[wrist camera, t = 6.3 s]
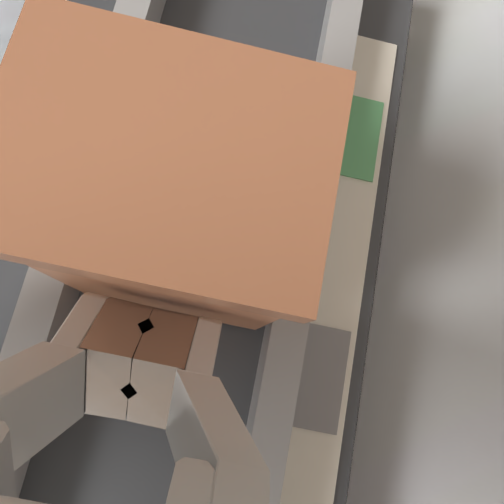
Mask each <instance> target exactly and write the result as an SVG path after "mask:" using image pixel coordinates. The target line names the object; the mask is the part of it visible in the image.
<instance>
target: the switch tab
mask: <svg viewBox="0 0 504 504" xmlns="http://www.w3.org/2000/svg"><path fill="white" fill-rule="evenodd" d="M356 73H357V71H353V70H349V69H344V68H340V67H336V66H332V65H328V64H324V63H320V62H316V61H312V60H308V59H304V58H300V57H295V56H291V55H287V54H283V53H279V52H275V51H271V50H267V49H263V48H259V47H255V46H251V45H246V44H242V43H238V42H234V41H230V40H226V39H222V38H218V37H214V36H210V35H206V34H202V33H197V32H193V31H189V30H185V29H181V28H177V27H173V26H169V25H165V24H161V23H157V22H153V21H149V20H144V19H140V18H136V17H132V16H128V15H124V14H120V13H116V12H112V11H108V10H104V9H100V8H95V7H91V6H87V5H83V4H79V3H75V2H71V1H67V0H25V3H24V5H23V8H22V11H21V13H20V16H19V18H18V21H17V23H16V26H15V28H14V31H13V34H12V36H11V39H10V41H9V44H8V46H7V49H6V52H5V54H4V57H3V59H2V62H1V64H0V260H5V261H10V262H15V263H19V264H24V265H27V266H29V267H31V268H33V269H35V270H38V271H40V272H42V273H44V274H46V275H48V276H50V277H52V278H54V279H56V280H58V281H60V282H62V283H64V284H66V285H68V286H70V287H72V288H75V289H77V290H79V291H81V292H83V293H86V292H90V293H95V294H99V295H103V296H107V297H113V298H117V299H122V300H126V301H130V302H134V303H138V304H143V305H147V306H151V307H154V308H160V309H165V310H170V311H175V312H179V313H184V314H189V315H194V316H199V317H200V316H201V317H206V318H212V319H217V320H221V321H222V323H224V324H229V325H234V326H238V327H243V328H248V329H253V330H256V329H258V328H261V327H263V326H265V325H267V324H269V323H272V322H274V321H276V320H278V319H284V320H288V321H293V322H298V323H303V324H305V323H308V322H311V321H315V320H316V319H317V313H318V307H319V300H320V294H321V288H322V282H323V276H324V270H325V264H326V257H327V251H328V245H329V239H330V233H331V227H332V221H333V214H334V208H335V202H336V196H337V190H338V184H339V178H340V171H341V165H342V159H343V153H344V147H345V141H346V135H347V129H348V122H349V116H350V110H351V104H352V98H353V92H354V86H355V79H356Z"/></svg>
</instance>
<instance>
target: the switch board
mask: <svg viewBox="0 0 504 504" xmlns="http://www.w3.org/2000/svg"><path fill="white" fill-rule="evenodd" d="M67 1H71V2H75V3H79V4H83V5H87V6H91V7H95V8H100V9H104V10H108V11H112V12H116V13H120V14H124V15H128V16H132V17H136V18H140V19H144V20H149V21H153V22H157V23H161V24H165V25H169V26H173V27H177V28H181V29H185V30H189V31H193V32H197V33H202V34H206V35H210V36H214V37H218V38H222V39H226V40H230V41H234V42H238V43H242V44H246V45H251V46H255V47H259V48H263V49H267V50H271V51H275V52H279V53H283V54H287V55H291V56H295V57H300V58H304V59H308V60H312V61H316V62H320V63H324V64H328V65H332V66H336V67H340V68H344V69H349V70H353V71H357V73H356V79H355V86H354V92H353V98H352V104H351V110H350V116H349V122H348V129H347V135H346V141H345V147H344V153H343V159H342V165H341V171H340V178H339V184H338V190H337V196H336V202H335V208H334V214H333V221H332V227H331V233H330V239H329V245H328V251H327V257H326V264H325V270H324V276H323V282H322V288H321V294H320V300H319V307H318V313H317V319H316V320H315V321H311V322H308V323H305V324H303V323H298V322H293V321H288V320H284V319H278V320H276V321H274V322H272V323H269V324H267V325H265V326H263V327H261V328H258V329H256V330H253V329H248V328H243V327H238V326H234V325H229V324H224V323H222V327H221V332H220V338H219V343H218V348H217V353H216V359H215V364H214V369H213V374H212V376H214V377H219V378H220V380H221V382H222V384H223V386H224V388H225V389H226V391H227V393H228V395H229V397H230V399H231V400H232V402H233V404H234V406H235V408H236V410H237V412H238V413H239V415H240V417H241V419H242V421H243V423H244V424H245V426H246V428H247V430H248V432H249V434H250V435H251V437H252V439H253V441H254V443H255V445H256V446H257V448H258V450H259V452H260V454H261V456H262V457H263V459H264V461H265V463H266V465H267V467H268V468H269V470H270V497H269V504H346V501H347V493H348V486H349V478H350V471H351V463H352V456H353V448H354V440H355V433H356V425H357V418H358V410H359V403H360V395H361V388H362V380H363V373H364V365H365V358H366V350H367V343H368V335H369V328H370V320H371V313H372V305H373V298H374V290H375V283H376V275H377V268H378V260H379V253H380V245H381V238H382V230H383V223H384V215H385V208H386V200H387V193H388V185H389V178H390V170H391V163H392V155H393V148H394V140H395V133H396V125H397V118H398V110H399V103H400V95H401V88H402V80H403V73H404V65H405V58H406V50H407V43H408V35H409V28H410V20H411V13H412V5H413V0H67ZM83 294H84V293H83V292H81V291H79V290H77V289H75V288H72V287H70V286H68V285H66V284H64V283H62V282H60V281H58V280H56V279H54V278H52V277H50V276H48V275H46V274H44V273H42V272H40V271H38V270H35V269H33V268H31V267H29V266H27V265H24V264H19V263H15V262H10V261H5V260H0V361H2V360H4V359H6V358H8V357H10V356H12V355H15V354H17V353H19V352H21V351H23V350H25V349H27V348H29V347H31V346H33V345H35V344H38V343H40V342H42V341H45V342H51V340H52V339H53V337H54V336H55V334H56V333H57V331H58V330H59V328H60V327H61V325H62V324H63V322H64V321H65V319H66V318H67V316H68V315H69V313H70V312H71V310H72V309H73V307H74V306H75V304H76V303H77V301H78V300H79V298H80V297H81V295H83ZM126 419H127V417H126ZM174 468H175V461H174V457H173V454H172V451H171V448H170V445H169V441H168V438H167V435H166V430H165V429H161V428H156V427H152V426H147V425H143V424H139V423H134V422H130V421H126V420H120V419H114V418H108V417H102V416H96V415H90V414H84V416H83V417H82V418H81V419H79V420H78V421H77V422H76V423H74V424H73V425H72V426H71V427H69V428H68V429H67V430H65V431H64V432H63V433H62V434H60V435H59V436H58V437H57V438H55V439H54V440H53V441H52V442H50V443H49V444H48V445H47V446H45V447H44V448H43V449H42V450H40V451H39V452H38V453H37V454H35V455H34V456H33V457H32V458H30V459H29V460H28V461H26V462H25V463H24V464H23V465H21V466H20V467H19V468H18V469H16V470H15V471H14V476H15V485H16V494H17V498H20V499H26V500H31V501H36V502H42V503H47V504H166V500H167V496H168V492H169V488H170V484H171V480H172V476H173V472H174Z"/></svg>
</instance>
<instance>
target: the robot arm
mask: <svg viewBox="0 0 504 504" xmlns="http://www.w3.org/2000/svg"><path fill="white" fill-rule="evenodd" d="M221 327H222V321H221V320H217V319H212V318H206V317H201V316H200V317H199V316H194V315H189V314H184V313H179V312H175V311H170V310H165V309H160V308H154V307H151V306H147V305H143V304H138V303H134V302H130V301H126V300H122V299H117V298H113V297H107V296H103V295H99V294H95V293H90V292H86V293H84V294H83V295H81V297H80V298H79V300H78V301H77V303H76V304H75V306H74V307H73V309H72V310H71V312H70V313H69V315H68V316H67V318H66V319H65V321H64V322H63V324H62V325H61V327H60V328H59V330H58V331H57V333H56V334H55V336H54V337H53V339H52V340H51V342H45V341H42V342H40V343H38V344H35V345H33V346H31V347H29V348H27V349H25V350H23V351H21V352H19V353H17V354H15V355H12V356H10V357H8V358H6V359H4V360H2V361H0V504H47V503H42V502H36V501H31V500H26V499H20V498H17V494H16V485H15V476H14V471H15V470H16V469H18V468H19V467H20V466H21V465H23V464H24V463H25V462H26V461H28V460H29V459H30V458H32V457H33V456H34V455H35V454H37V453H38V452H39V451H40V450H42V449H43V448H44V447H45V446H47V445H48V444H49V443H50V442H52V441H53V440H54V439H55V438H57V437H58V436H59V435H60V434H62V433H63V432H64V431H65V430H67V429H68V428H69V427H71V426H72V425H73V424H74V423H76V422H77V421H78V420H79V419H81V418H82V417H83V416H84V414H90V415H96V416H102V417H108V418H114V419H120V420H126V421H130V422H134V423H139V424H143V425H147V426H152V427H156V428H161V429H165V430H166V435H167V438H168V441H169V445H170V448H171V451H172V454H173V457H174V461H175V468H174V472H173V476H172V480H171V484H170V488H169V492H168V496H167V500H166V504H269V497H270V470H269V468H268V467H267V465H266V463H265V461H264V459H263V457H262V456H261V454H260V452H259V450H258V448H257V446H256V445H255V443H254V441H253V439H252V437H251V435H250V434H249V432H248V430H247V428H246V426H245V424H244V423H243V421H242V419H241V417H240V415H239V413H238V412H237V410H236V408H235V406H234V404H233V402H232V400H231V399H230V397H229V395H228V393H227V391H226V389H225V388H224V386H223V384H222V382H221V380H220V378H219V377H214V376H212V374H213V369H214V364H215V359H216V353H217V348H218V343H219V338H220V332H221ZM126 417H127V419H126Z"/></svg>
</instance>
